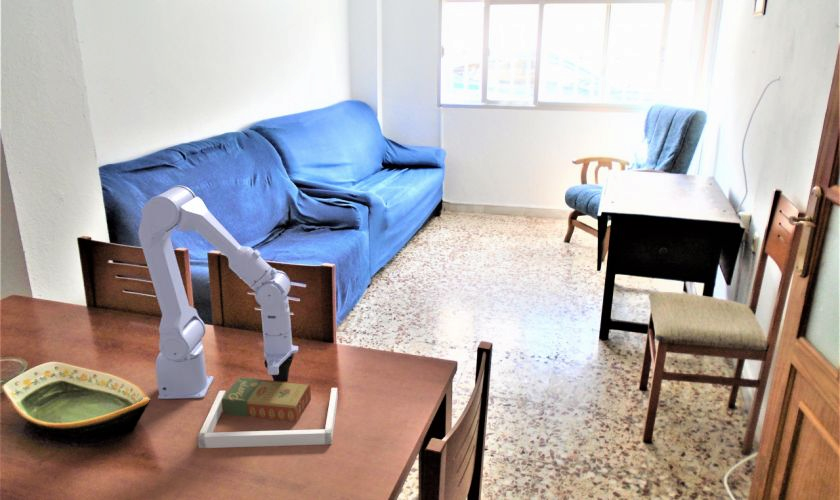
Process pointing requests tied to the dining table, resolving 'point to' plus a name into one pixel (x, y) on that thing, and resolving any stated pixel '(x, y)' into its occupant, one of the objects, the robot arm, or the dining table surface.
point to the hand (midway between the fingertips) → (281, 386)
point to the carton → (267, 399)
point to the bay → (264, 437)
